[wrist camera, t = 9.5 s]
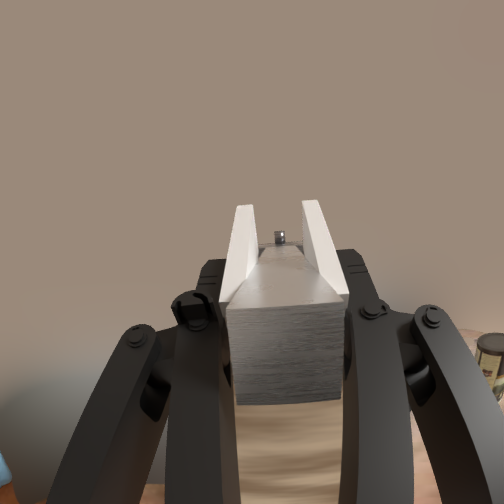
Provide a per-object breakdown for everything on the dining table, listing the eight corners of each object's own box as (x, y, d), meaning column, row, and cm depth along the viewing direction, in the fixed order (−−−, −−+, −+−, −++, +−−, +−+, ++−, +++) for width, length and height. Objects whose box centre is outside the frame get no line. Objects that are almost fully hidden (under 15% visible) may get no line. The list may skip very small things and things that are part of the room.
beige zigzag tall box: (252, 488, 33) (226, 294, 30) (327, 483, 32) (337, 286, 29) (243, 544, 21) (194, 333, 19) (335, 539, 20) (372, 321, 17)
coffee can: (499, 384, 41) (511, 331, 40) (504, 408, 33) (521, 350, 32) (464, 385, 47) (475, 332, 46) (465, 409, 39) (480, 351, 38)
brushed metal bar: (253, 267, 30) (250, 233, 30) (310, 263, 29) (308, 228, 29) (165, 400, 6) (139, 256, 6) (410, 386, 5) (421, 236, 5)
